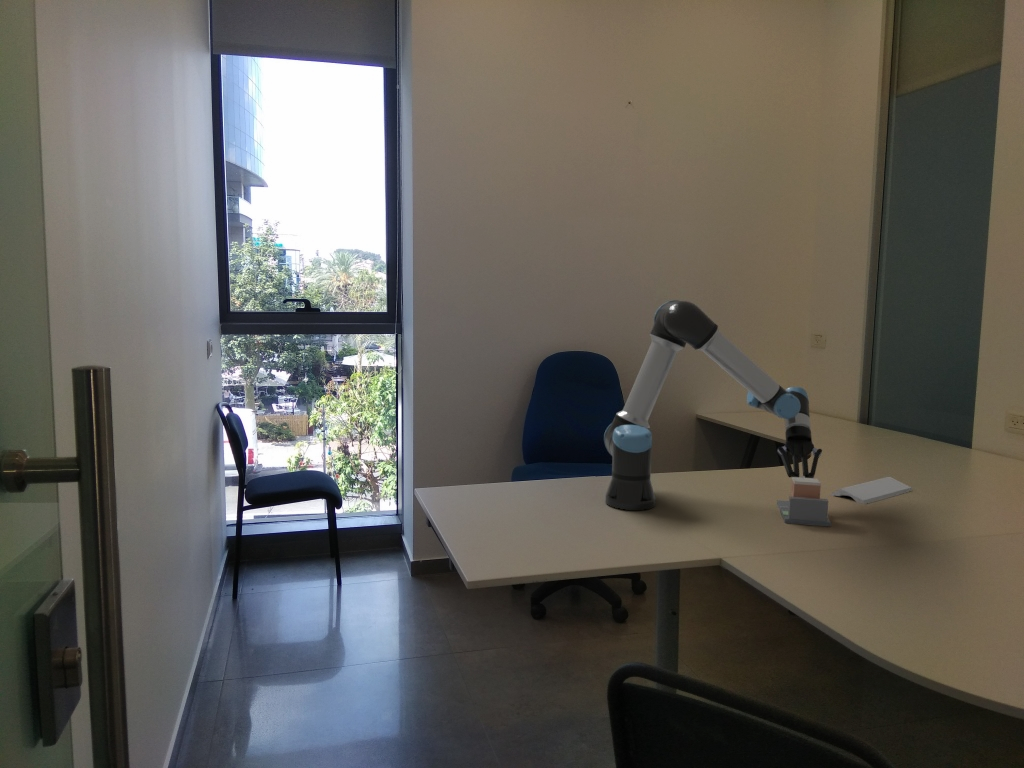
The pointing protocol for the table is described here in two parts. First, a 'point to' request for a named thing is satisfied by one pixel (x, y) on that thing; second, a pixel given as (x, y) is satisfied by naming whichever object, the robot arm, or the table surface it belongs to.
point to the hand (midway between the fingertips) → (802, 497)
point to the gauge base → (805, 511)
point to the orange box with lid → (805, 487)
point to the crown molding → (874, 490)
